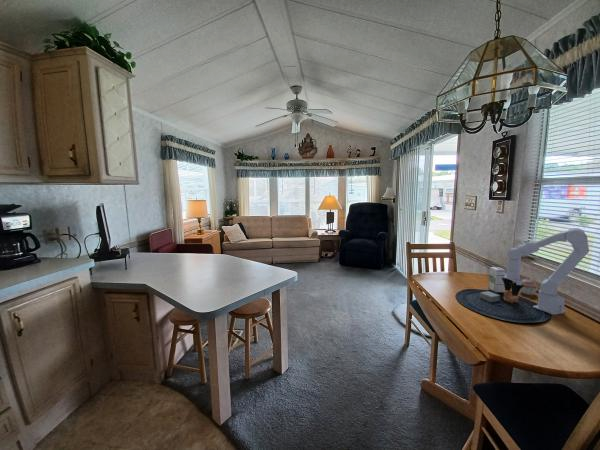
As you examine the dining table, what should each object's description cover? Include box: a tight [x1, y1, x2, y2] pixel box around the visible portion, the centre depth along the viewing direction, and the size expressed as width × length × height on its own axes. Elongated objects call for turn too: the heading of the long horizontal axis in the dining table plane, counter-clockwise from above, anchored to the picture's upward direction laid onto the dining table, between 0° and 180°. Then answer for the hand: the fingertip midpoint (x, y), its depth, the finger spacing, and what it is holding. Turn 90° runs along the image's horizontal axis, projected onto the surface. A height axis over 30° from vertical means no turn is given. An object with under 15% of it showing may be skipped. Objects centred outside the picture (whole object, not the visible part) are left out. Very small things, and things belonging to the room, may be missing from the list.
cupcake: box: [519, 277, 539, 296], centre depth 154 cm, size 9×9×10 cm
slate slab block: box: [479, 290, 501, 303], centre depth 147 cm, size 6×6×4 cm
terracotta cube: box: [503, 290, 519, 304], centre depth 145 cm, size 4×4×5 cm
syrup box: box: [488, 266, 506, 293], centre depth 159 cm, size 6×6×14 cm
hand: (511, 292), depth 144 cm, fingers open, 7 cm apart
